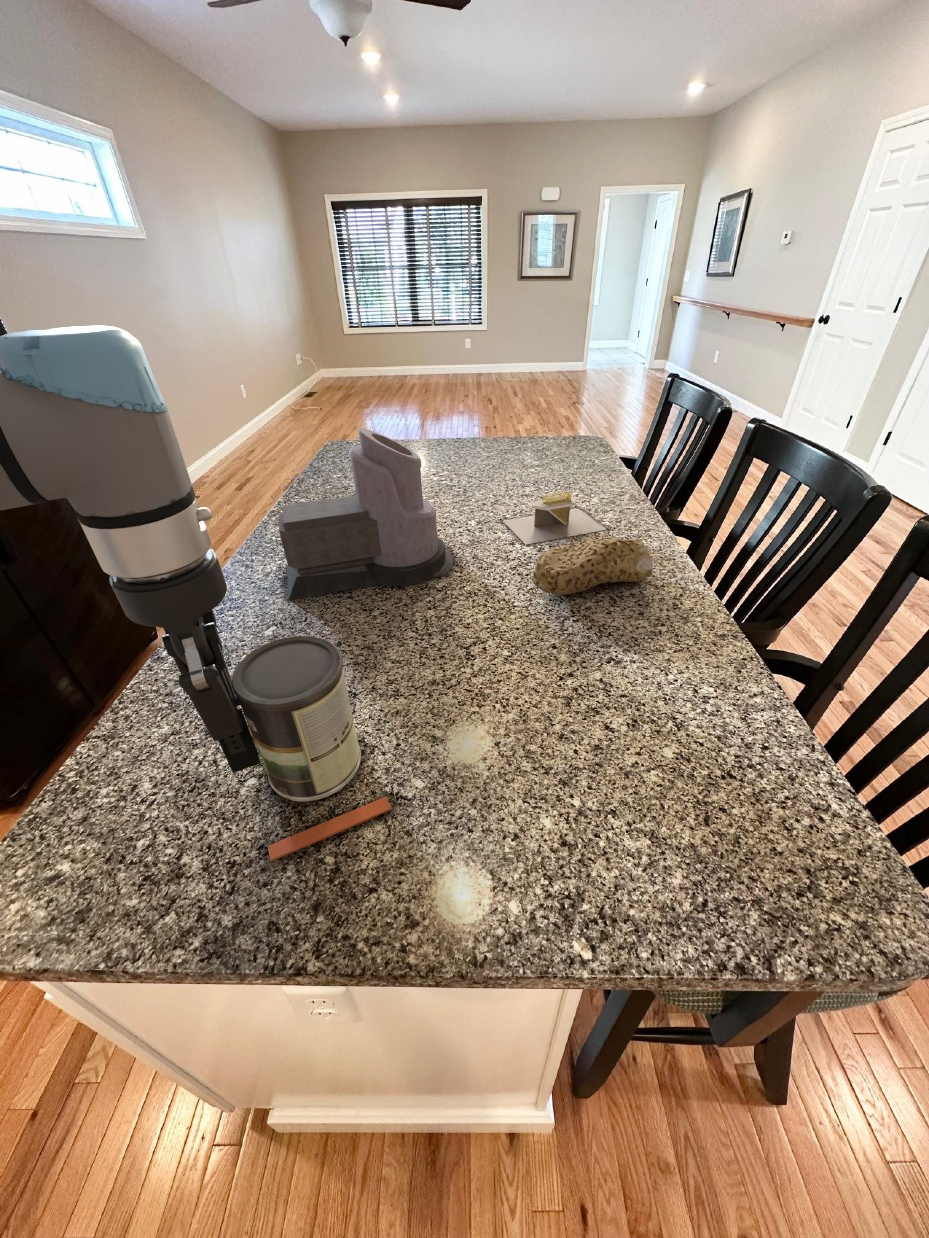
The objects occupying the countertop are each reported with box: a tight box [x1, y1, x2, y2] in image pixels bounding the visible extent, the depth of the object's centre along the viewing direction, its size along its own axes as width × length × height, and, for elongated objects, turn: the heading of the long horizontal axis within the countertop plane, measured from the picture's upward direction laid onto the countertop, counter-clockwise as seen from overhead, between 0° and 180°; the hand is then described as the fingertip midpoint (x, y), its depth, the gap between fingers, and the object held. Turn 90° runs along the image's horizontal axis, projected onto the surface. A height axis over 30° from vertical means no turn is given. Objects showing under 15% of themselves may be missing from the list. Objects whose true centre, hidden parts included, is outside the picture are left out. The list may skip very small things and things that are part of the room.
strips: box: [249, 728, 393, 862], centre depth 57 cm, size 12×19×1 cm, turn 26°
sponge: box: [532, 537, 653, 596], centre depth 85 cm, size 13×8×20 cm
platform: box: [502, 490, 607, 545], centre depth 105 cm, size 12×18×7 cm, turn 109°
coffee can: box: [231, 635, 362, 803], centre depth 53 cm, size 10×10×14 cm
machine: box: [278, 427, 454, 601], centre depth 87 cm, size 30×16×24 cm, turn 107°
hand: (245, 762), depth 53 cm, fingers closed
